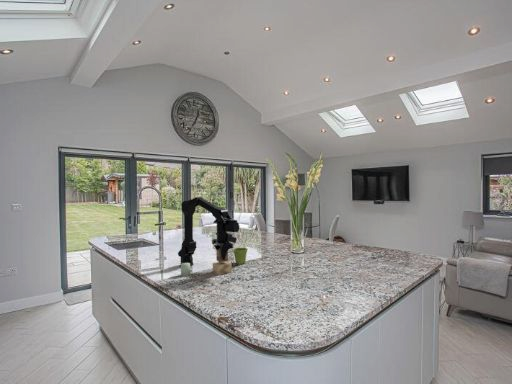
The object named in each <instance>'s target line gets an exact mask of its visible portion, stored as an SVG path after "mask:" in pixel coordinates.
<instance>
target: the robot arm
mask: <svg viewBox="0 0 512 384" xmlns="http://www.w3.org/2000/svg"><path fill="white" fill-rule="evenodd" d="M180 206H181V211H182V213H183V215H184V216H183V217H184V225H183V226H184V236H183V237H184V238H183V241H182V243H181V248H180V249H179V251H178V252H177V255H178V257H180V264H179V267H181V264H182V263H190V267H192V266H193V265H194V258H193V255H195V251H196V250H197V241H195V239H194V237H193V236H194V231H193V230H194V220H193V219H194V214H195V212H196V208H197V207H201V208H202V209H204V210H206V211H208V212H209V213H211V214H212V217H214V218H215V220H214V221H213V223H214V224H216V232H215V235H216V238H213V239H212V240H211V244H212V245H213V247H214V249H215V251H216V250H218V249H219V250H220V253H221V256H222V259H223V260H225V257H226V254H227V251H228V252H229V250H230V249H234V244H236V243H237V239H238V238H237V237H235V236H233V233H238V232H239V231H240V224H239V222H238V220H237V219H232V216H231V215H230V214H229V210H228V209H227V208H225V207H222V206H221V207H220V206H218V205H215V204H213V203H211V202H210V201H209V200H206V199H205V198H203V197H202V196H196V197H193V198H191V199H188V200H183V201H182V203H181V205H180ZM231 233H232V234H231ZM233 243H234V244H233Z"/></svg>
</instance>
